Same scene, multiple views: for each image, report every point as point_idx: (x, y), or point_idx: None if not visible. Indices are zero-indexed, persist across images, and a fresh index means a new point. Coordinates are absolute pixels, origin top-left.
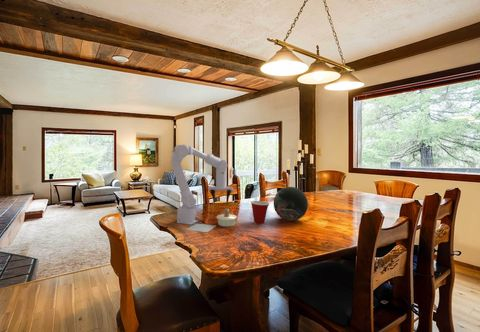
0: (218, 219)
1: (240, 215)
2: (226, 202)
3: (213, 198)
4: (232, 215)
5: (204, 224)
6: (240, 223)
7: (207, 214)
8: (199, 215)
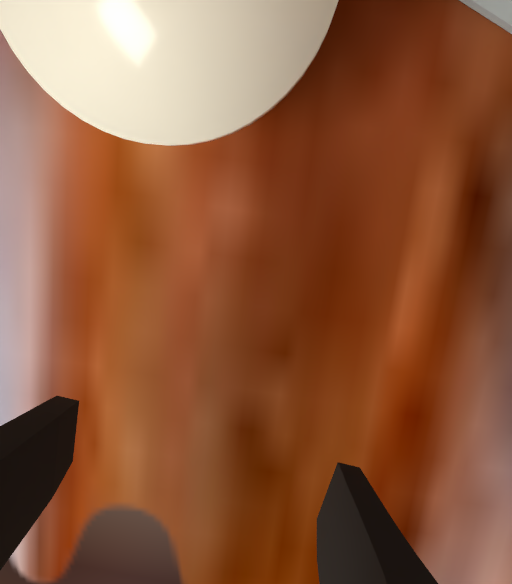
0: None
1: None
2: (74, 404)
3: (395, 542)
4: (47, 9)
5: (507, 20)
6: (4, 64)
7: None
8: (459, 495)
